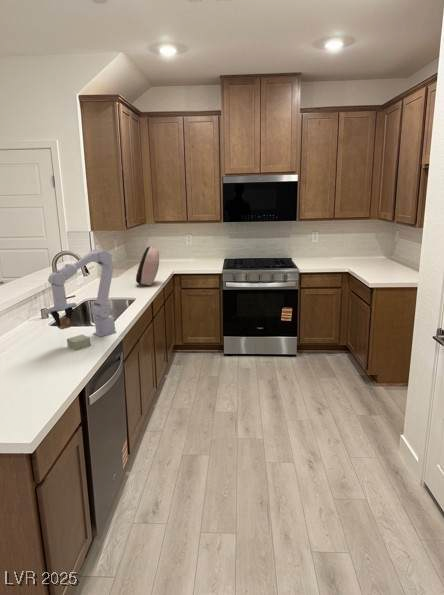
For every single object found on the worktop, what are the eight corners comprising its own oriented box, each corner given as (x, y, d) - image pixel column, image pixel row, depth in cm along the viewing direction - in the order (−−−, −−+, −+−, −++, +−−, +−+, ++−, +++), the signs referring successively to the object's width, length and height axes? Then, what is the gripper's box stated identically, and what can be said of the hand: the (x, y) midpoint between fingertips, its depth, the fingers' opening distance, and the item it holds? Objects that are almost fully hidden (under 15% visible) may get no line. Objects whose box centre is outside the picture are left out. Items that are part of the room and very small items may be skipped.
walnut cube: (66, 325, 204) (65, 316, 203) (70, 327, 201) (69, 318, 199) (57, 327, 201) (56, 318, 199) (61, 329, 198) (60, 320, 196)
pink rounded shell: (138, 282, 337) (134, 245, 329) (162, 280, 339) (159, 244, 331) (135, 288, 316) (131, 249, 308) (161, 286, 318) (157, 247, 310)
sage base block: (83, 341, 205) (82, 334, 204) (91, 345, 200) (89, 337, 199) (67, 346, 200) (66, 338, 199) (75, 350, 194) (74, 342, 193)
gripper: (70, 293, 204) (74, 319, 208) (41, 299, 195) (45, 326, 198) (76, 295, 199) (80, 321, 203) (47, 301, 190) (51, 329, 193)
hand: (63, 324), depth 200 cm, fingers closed on walnut cube, 4 cm apart
